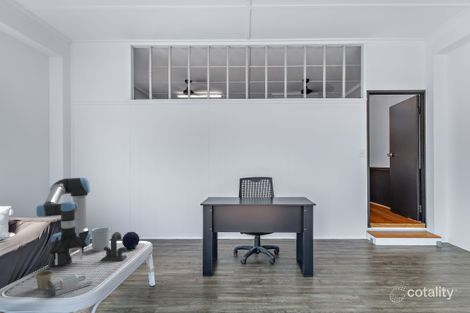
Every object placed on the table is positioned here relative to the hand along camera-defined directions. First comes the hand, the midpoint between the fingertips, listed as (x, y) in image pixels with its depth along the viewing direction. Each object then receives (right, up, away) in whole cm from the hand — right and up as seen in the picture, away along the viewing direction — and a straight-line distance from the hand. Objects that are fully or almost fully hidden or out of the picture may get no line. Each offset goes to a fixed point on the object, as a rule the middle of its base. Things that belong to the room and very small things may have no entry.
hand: (68, 261), depth 179 cm
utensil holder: (-15, -17, +76) cm, 80 cm away
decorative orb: (+11, -16, +77) cm, 79 cm away
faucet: (+8, -16, +53) cm, 56 cm away
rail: (+1, -16, 0) cm, 16 cm away
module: (+1, -16, -1) cm, 16 cm away
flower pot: (-15, -16, 0) cm, 22 cm away
